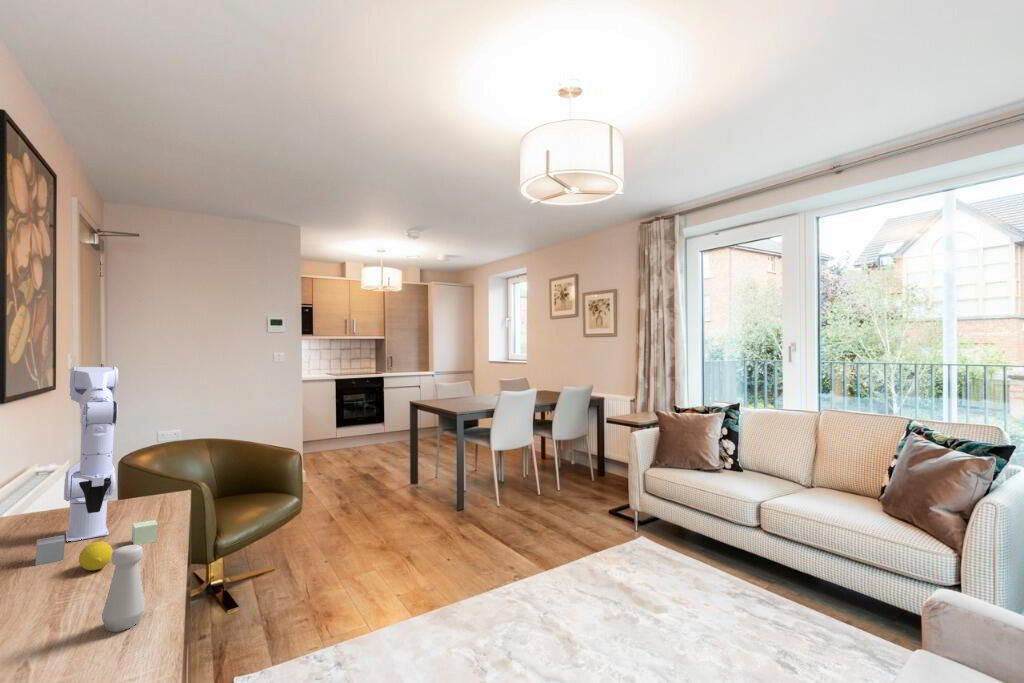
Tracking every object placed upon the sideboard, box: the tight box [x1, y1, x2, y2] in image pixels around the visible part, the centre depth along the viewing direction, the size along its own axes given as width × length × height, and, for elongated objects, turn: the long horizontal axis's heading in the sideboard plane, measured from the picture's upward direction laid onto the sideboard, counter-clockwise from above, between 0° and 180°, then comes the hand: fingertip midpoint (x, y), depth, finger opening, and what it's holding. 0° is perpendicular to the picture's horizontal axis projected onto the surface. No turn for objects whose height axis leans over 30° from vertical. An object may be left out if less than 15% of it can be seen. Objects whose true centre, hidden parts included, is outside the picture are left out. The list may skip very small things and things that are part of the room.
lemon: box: [78, 540, 114, 571], centre depth 104 cm, size 6×6×8 cm
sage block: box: [131, 519, 159, 546], centre depth 120 cm, size 4×4×4 cm
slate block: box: [35, 534, 66, 567], centre depth 109 cm, size 4×4×4 cm
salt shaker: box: [101, 544, 146, 633], centre depth 82 cm, size 6×6×13 cm
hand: (93, 512), depth 113 cm, fingers closed
